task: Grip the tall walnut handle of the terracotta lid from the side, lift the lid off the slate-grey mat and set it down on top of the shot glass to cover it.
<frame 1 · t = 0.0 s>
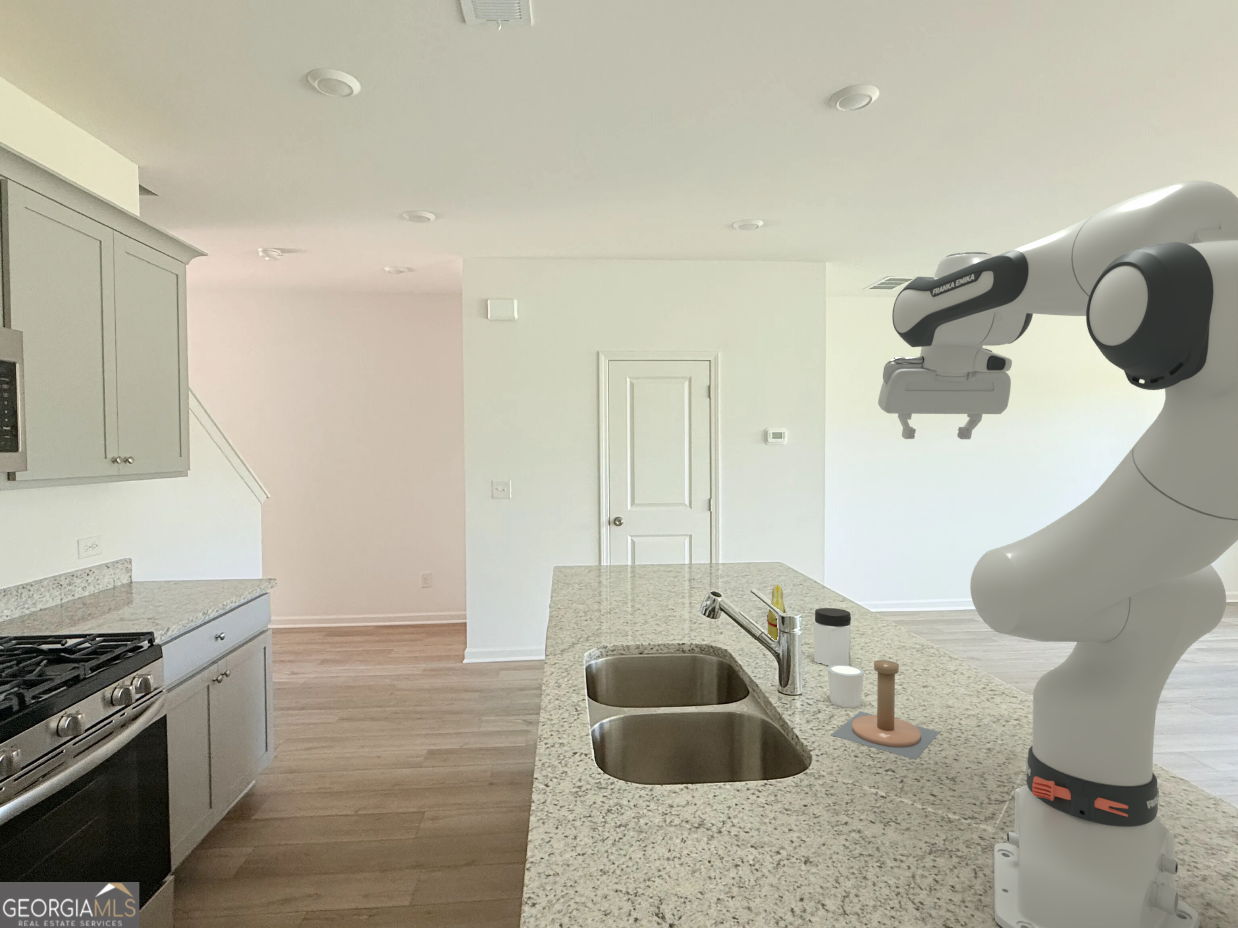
hand: (935, 438, 111), 52 cm above the counter, tool tilted 20°, fingers open, 8 cm apart
chocolate bunny: (780, 642, 173), on the counter
shot glass: (845, 705, 129), on the counter
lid: (885, 733, 114), point 1 cm above the counter, touching mat
mat: (885, 736, 114), on the counter
jar: (832, 662, 156), on the counter
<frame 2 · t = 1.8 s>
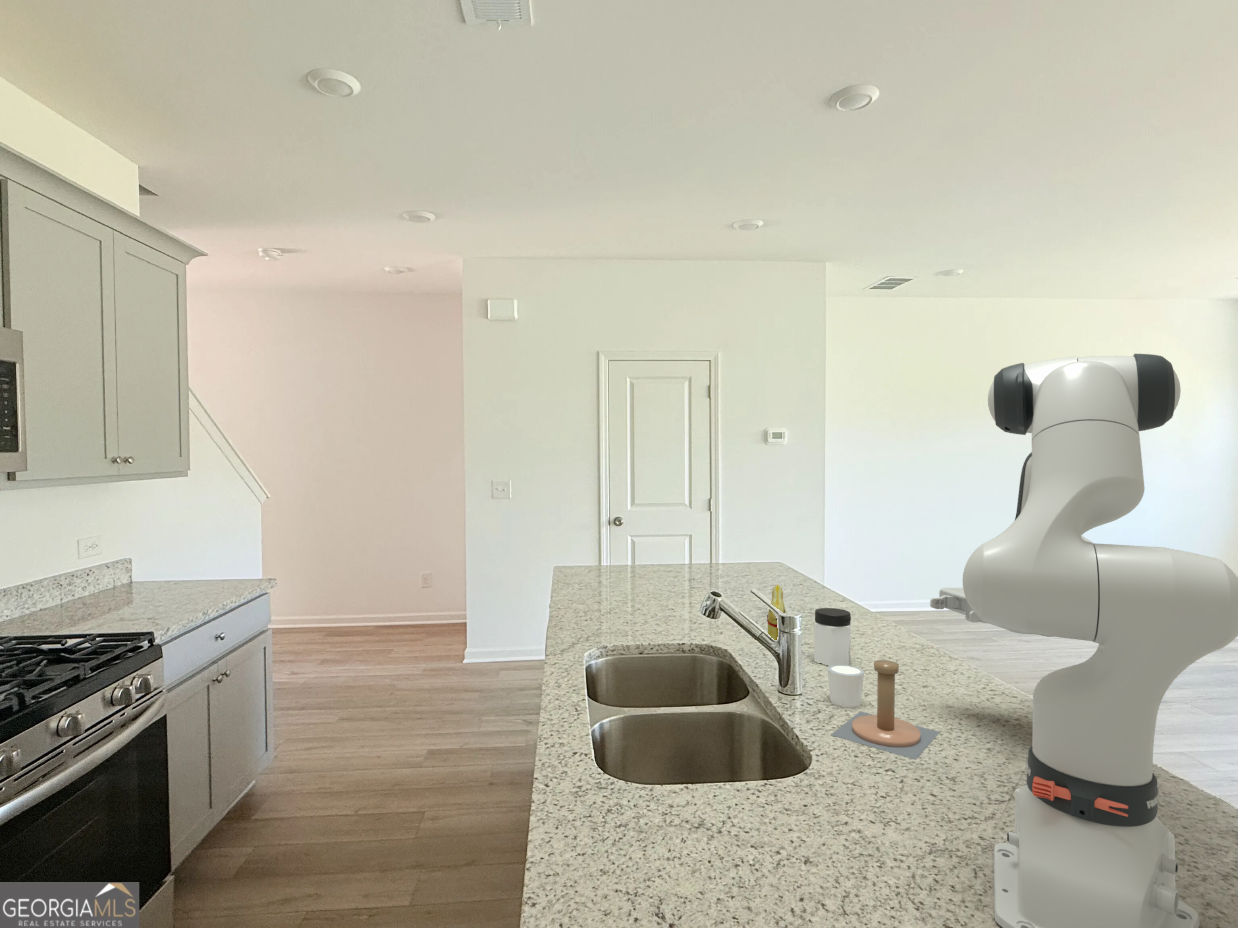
hand: (949, 609, 116), 22 cm above the counter, tool horizontal, fingers open, 8 cm apart
nothing on the counter moved.
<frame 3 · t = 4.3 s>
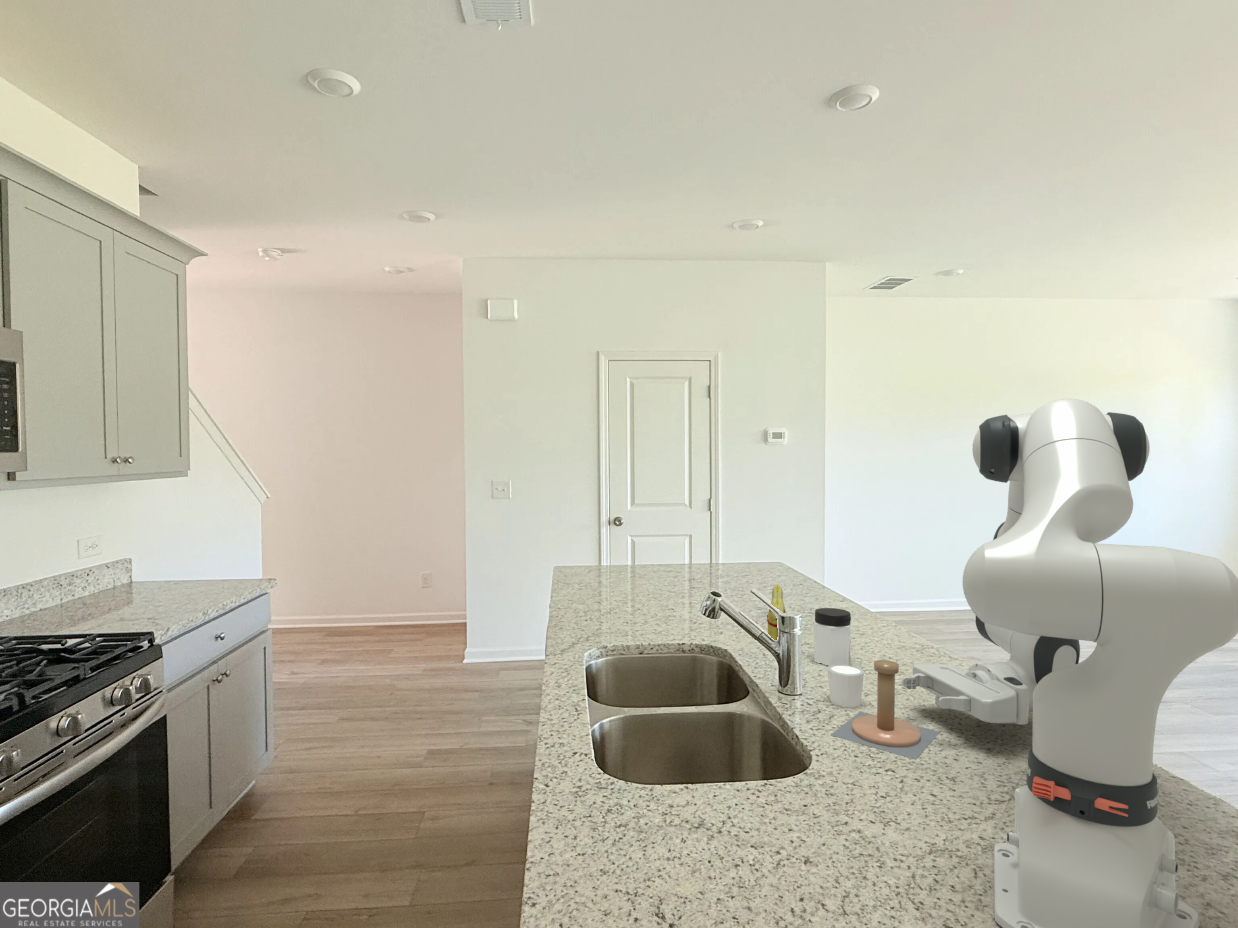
hand: (920, 692, 115), 7 cm above the counter, tool horizontal, fingers open, 8 cm apart
nothing on the counter moved.
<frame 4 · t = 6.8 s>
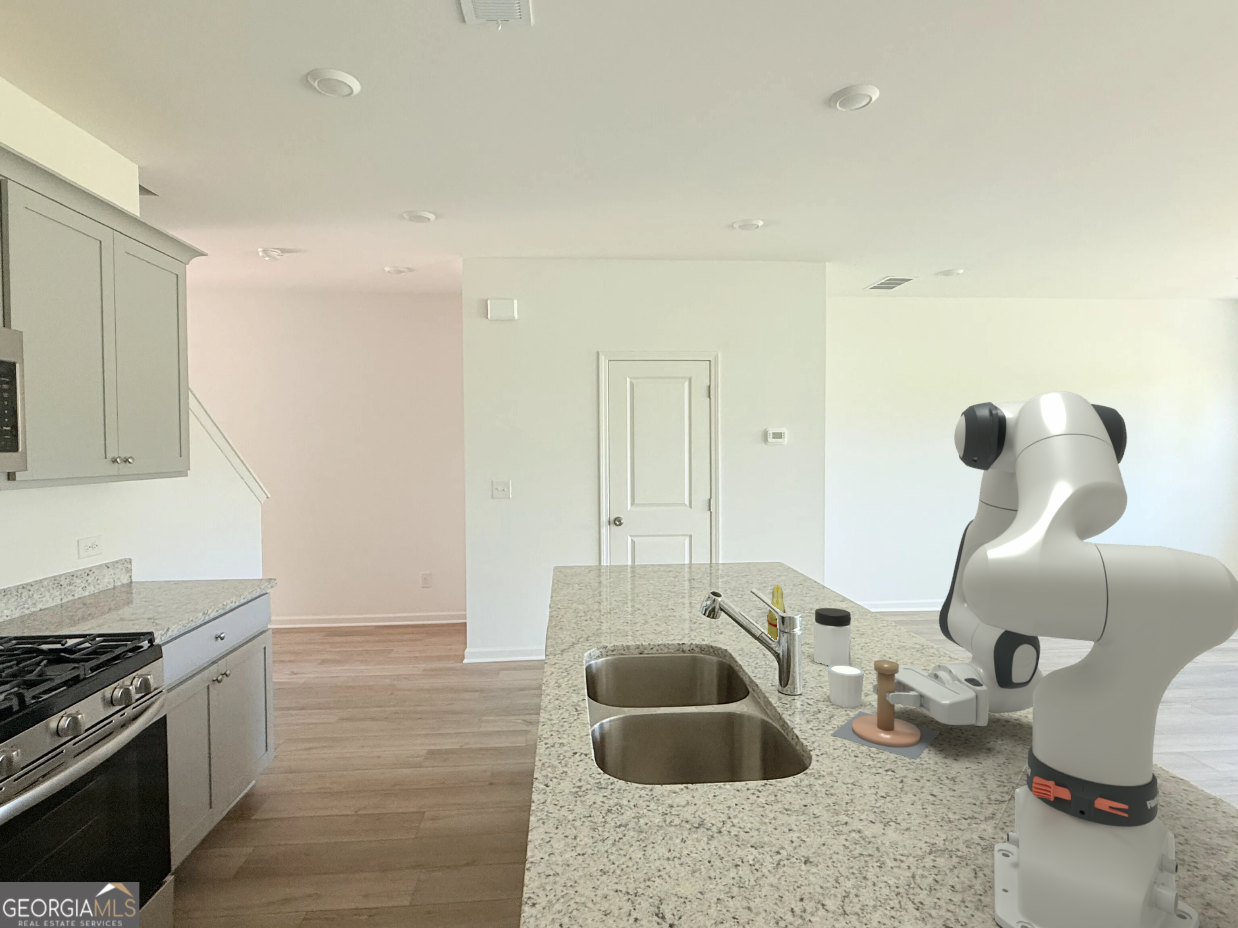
hand: (881, 693, 114), 8 cm above the counter, tool horizontal, fingers closed on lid, 3 cm apart
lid: (885, 733, 114), point 1 cm above the counter, touching gripper, mat
everything else where it was.
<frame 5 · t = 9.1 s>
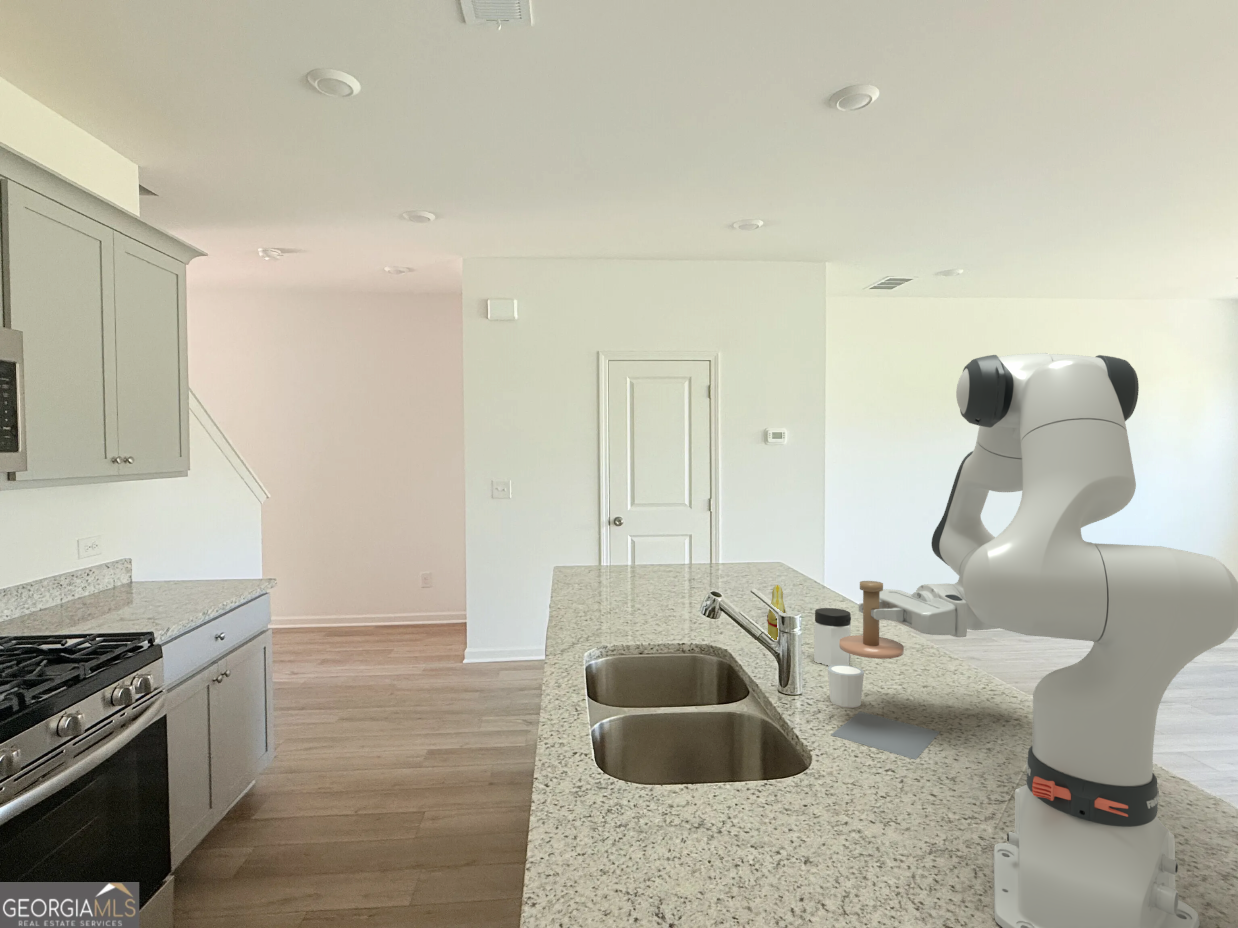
hand: (866, 611, 120), 21 cm above the counter, tool horizontal, fingers closed on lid, 3 cm apart
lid: (871, 649, 120), point 14 cm above the counter, touching gripper
everything else where it was.
when the fingers open (15 cm above the counter, at t = 11.3 s): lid drops 1 cm, resting on shot glass.
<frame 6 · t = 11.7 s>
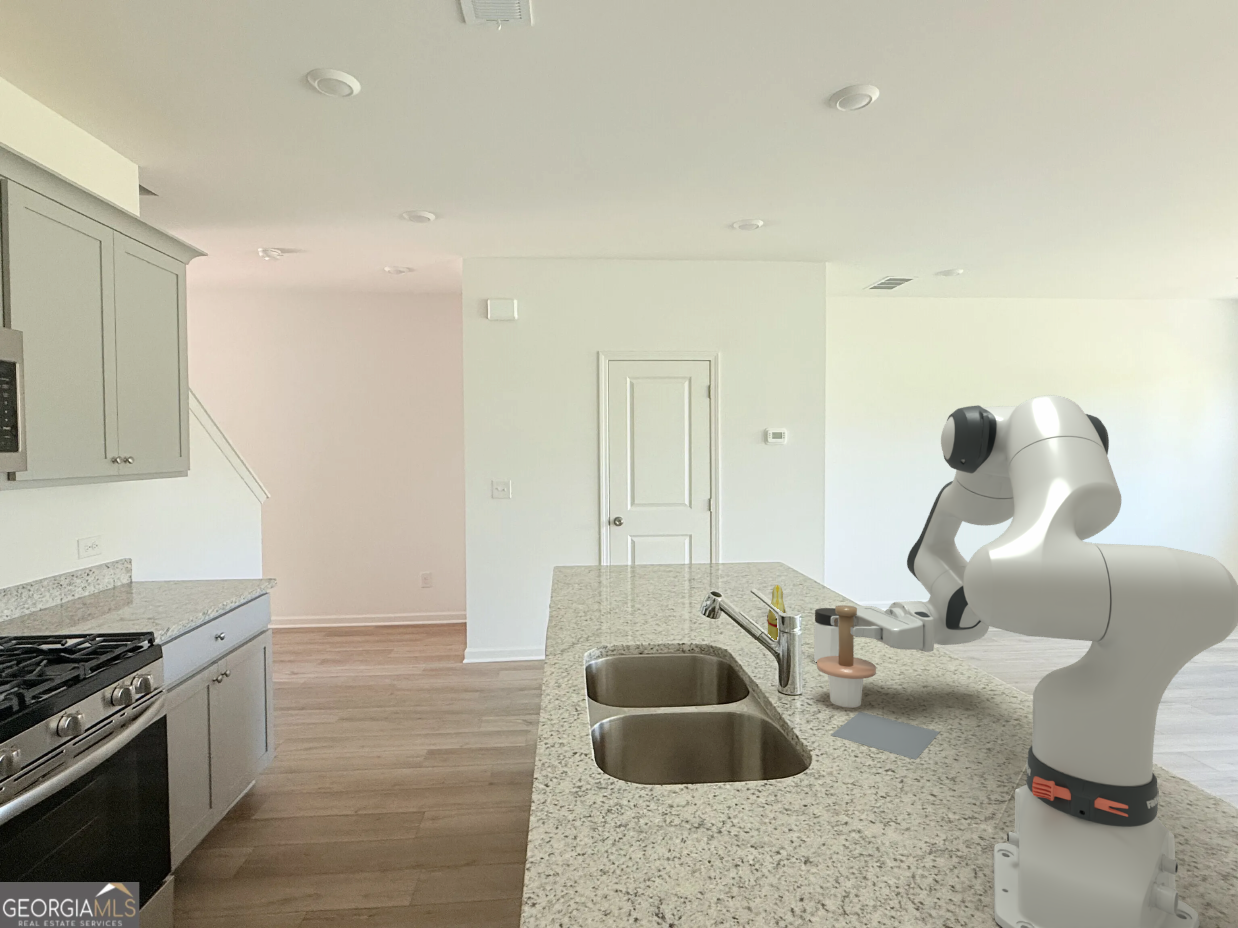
hand: (842, 626, 128), 15 cm above the counter, tool horizontal, fingers open, 6 cm apart
shot glass: (845, 705, 129), on the counter, touching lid
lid: (846, 669, 129), point 7 cm above the counter, touching shot glass
everything else where it was.
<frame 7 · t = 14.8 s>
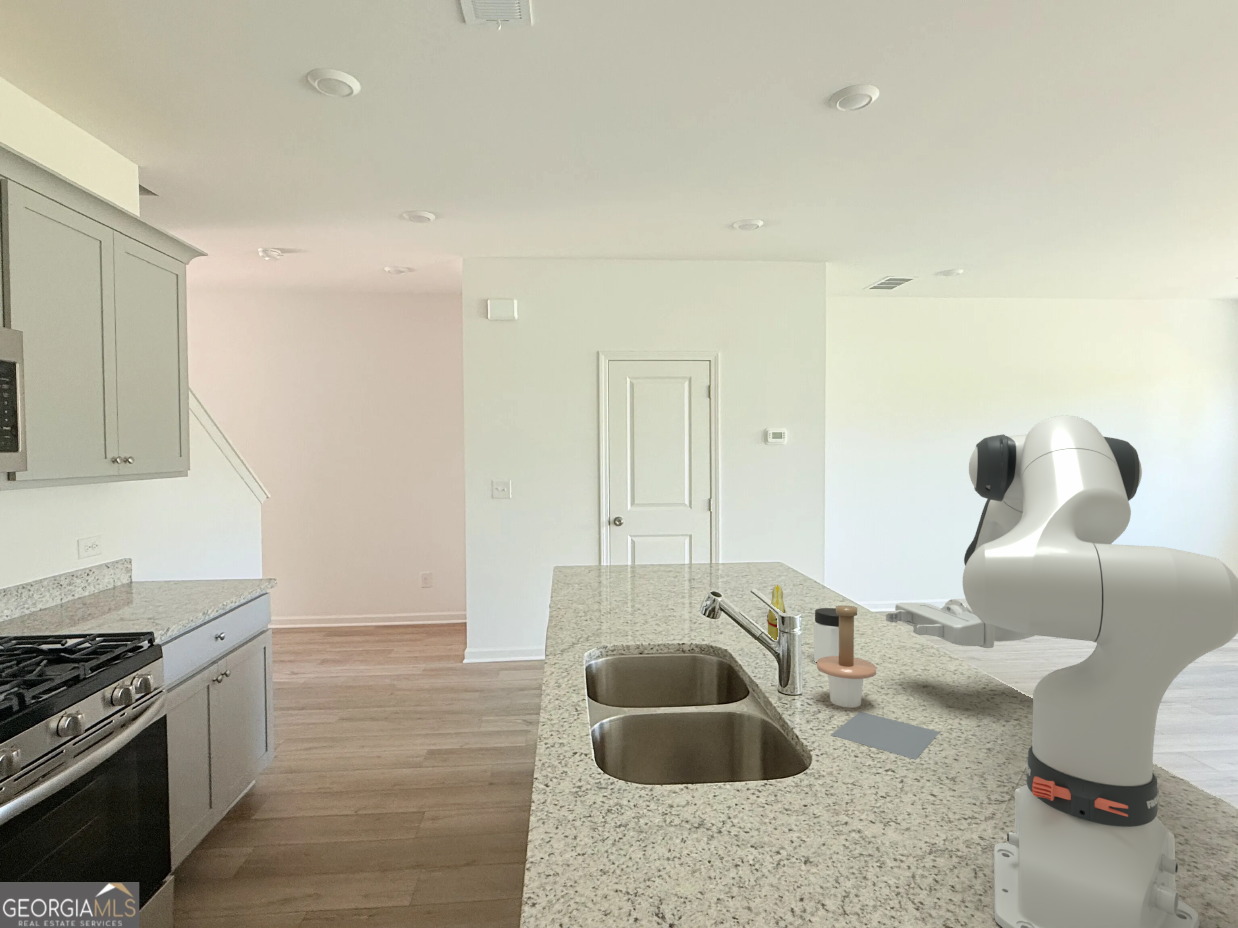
hand: (901, 623, 131), 16 cm above the counter, tool horizontal, fingers open, 8 cm apart
nothing on the counter moved.
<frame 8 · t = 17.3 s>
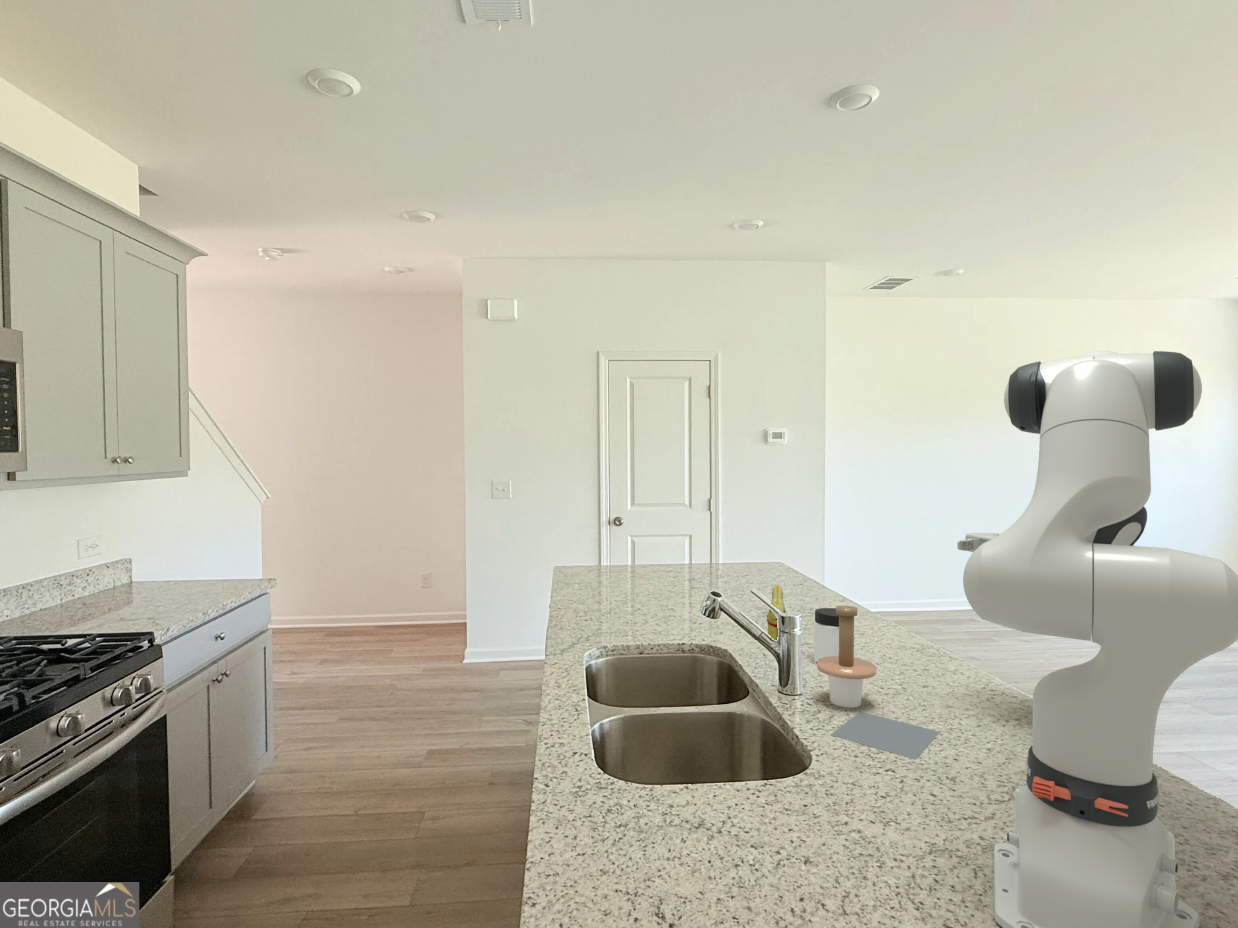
hand: (977, 549, 120), 32 cm above the counter, tool horizontal, fingers open, 8 cm apart
nothing on the counter moved.
at the end: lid 0.1 cm from the shot glass (horizontally); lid point 6.9 cm above the counter; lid tilted 0° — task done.
